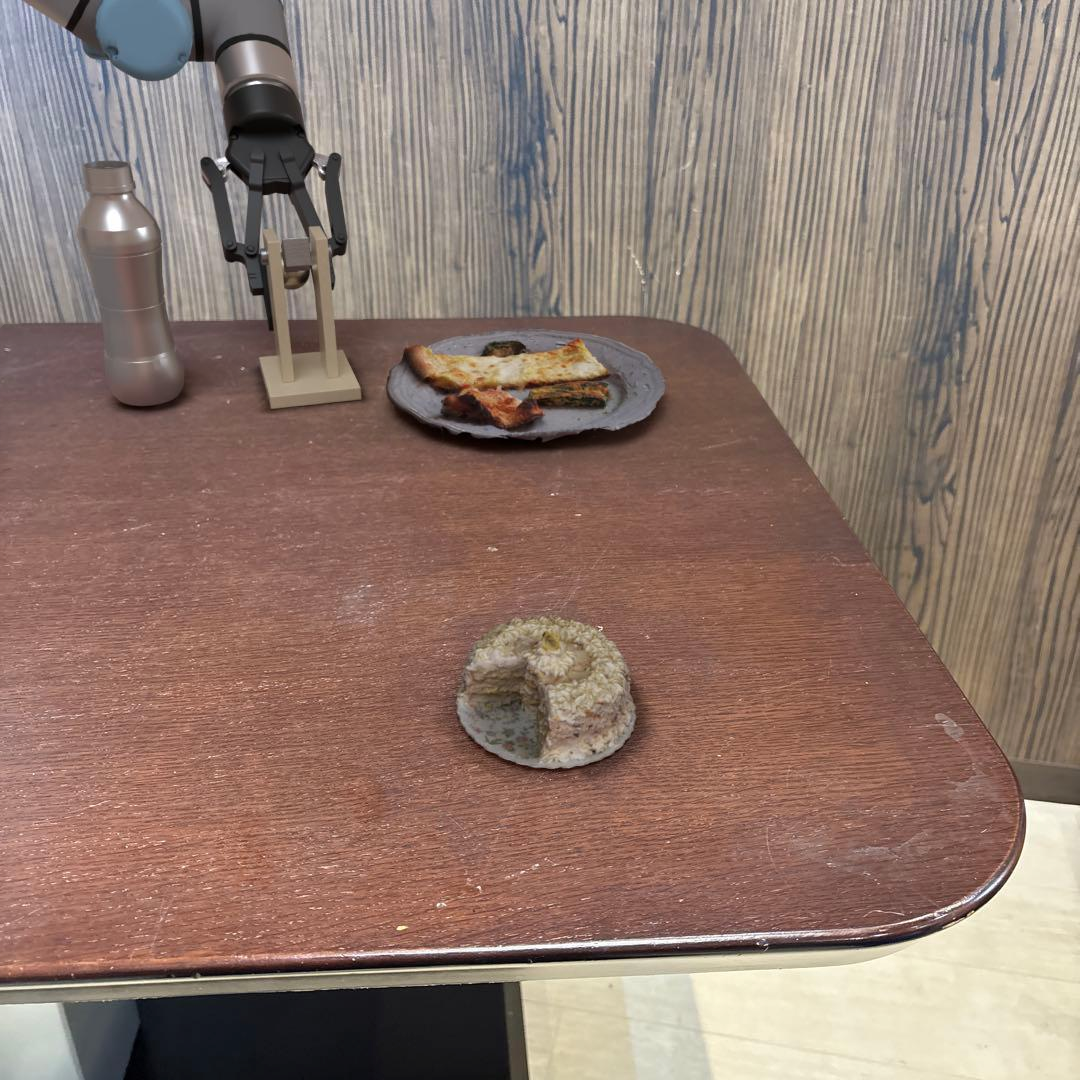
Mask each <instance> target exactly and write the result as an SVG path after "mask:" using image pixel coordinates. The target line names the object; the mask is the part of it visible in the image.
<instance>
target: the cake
mask: <svg viewBox="0 0 1080 1080" xmlns="http://www.w3.org/2000/svg"><path fill="white" fill-rule="evenodd" d="M629 675H630V669H629V667H628V664H627V661H626V660H625V656H624V655H622V653H621V652H620V650H619V649H618V647H617V645H616V644H615V643H614V642H613V641H612V640H608V639H607V637H606V636H605V635H604V633H603V632H602V631H600V630H599V629H598V627H597V628H596V627H593V626H590V624H585V623H583V622H580V621H575V620H573V619H572V618H571V619H570V620H569V619H563V617H562V618H561V617H560V616H559V617H557V618H554V616H553V615H552V613H549V615H548V616H543V615H540V616H530V615H528V616H527V617H526V618H525V619H524V618H520V617H517V616H515V617H514V618H513V619H510V620H509V621H506V623H505V624H503V623H498V625H497V626H496V625H495V626H493V627H492V629H491V630H488V632H487V633H482V634H481V638H480V640H477V641H474V642H473V644H472V648H470V652H469V653H468V654H467V657H466V659H465V666H464V668H463V670H462V673H461V675H460V676H461V682H460V685H459V687H458V689H457V690H456V698H455V699H454V703H455V706H456V710H455V713H456V715H457V716H458V718H459V720H458V721H459V723H460V725H461V726H462V727H463V728H464V731H465V732H466V734H467V735H468V736H470V737H471V738H472V739H473V740H474V743H477V744H478V745H480V746H481V747H483V748H484V749H485V750H486V751H488V753H489V752H490V753H493V754H496V755H498V757H499V758H501V759H504V760H507V761H511V762H513V763H516V764H518V765H522V766H528V767H530V768H536V769H540V768H546V769H551V770H552V769H554V770H556V769H559V768H562V769H570V768H574V767H577V766H578V767H580V766H585V765H588V764H590V763H594V762H598V761H601V760H603V759H604V758H606V757H609V756H611V755H614V753H615V751H617V750H619V749H621V748H623V747H624V744H625V743H626V741H627V740H628V739H629V738H631V735H632V733H633V731H634V730H635V725H636V720H637V714H636V709H637V706H636V705H635V703H634V698H633V697H632V695H631V693H630V691H631V683H632V682H631V681H632V679H631V677H629Z"/></svg>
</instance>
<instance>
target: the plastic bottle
mask: <svg viewBox="0 0 1080 1080" xmlns="http://www.w3.org/2000/svg"><path fill="white" fill-rule="evenodd" d="M81 171H82V176H83V180H84V181H83V182H84V183H83V187H84V191H86V192H88V193H89V198H88V200H87V202H86V205H85V206H84V208H83V210H82V212H81V215H80V217H79V220H78V222H77V230H76V231H77V232H76V237H77V241H78V244H79V248H80V249H81V253H82V256H83V259H84V263H85V265H86V268H87V270H88V273H89V276H90V279H91V281H92V286H93V290H94V292H95V293H94V294H95V298H96V300H97V305H98V309H99V314H100V319H101V328H102V329H101V330H102V338H103V347H104V351H103V366H104V367H103V369H104V379H105V381H106V383H107V386H108V388H109V392H110V393H111V394H112V395H113V396H114V397H115V398H116V399H117V400H118V401H119V402H121V403H122V404H124V405H125V404H126V405H128V406H137V407H145V406H146V407H147V406H157V405H161V404H164V403H168V402H171V401H172V400H175V399H176V398H177V397H178V396H179V395H180V394H181V391H182V390H183V388H184V384H185V367H184V364H183V362H182V361H183V360H182V357H181V355H180V352H179V350H178V347H177V345H176V344H175V339H174V336H173V335H174V334H173V331H172V327H171V322H170V318H169V314H168V311H167V304H166V298H165V288H164V287H165V286H164V278H163V245H162V243H163V239H162V231H161V228H160V225H159V223H158V220H157V219H156V217H155V216H154V215H153V214H152V212H150V210H149V209H148V208H147V206H145V205H144V203H142V201H141V200H140V199H139V198H138V197H136V195H135V193H134V190H136V189H137V185H136V181H135V180H134V177H133V170H132V166H131V163H130V162H128V161H124V160H95V161H89V162H85V163H83V164H81Z"/></svg>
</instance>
